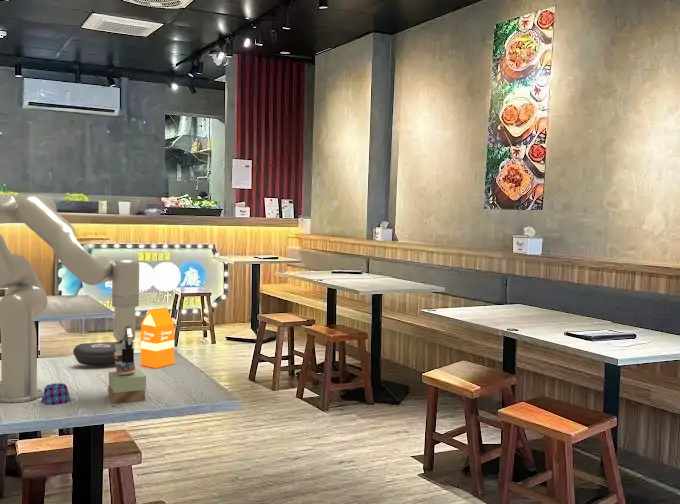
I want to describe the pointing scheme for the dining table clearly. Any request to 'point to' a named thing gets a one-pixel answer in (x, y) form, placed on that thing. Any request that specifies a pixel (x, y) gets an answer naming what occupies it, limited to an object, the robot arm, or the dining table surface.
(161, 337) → the orange juice
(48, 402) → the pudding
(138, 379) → the tower top slab
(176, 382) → the dining table surface
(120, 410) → the dining table surface
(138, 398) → the tower base slab
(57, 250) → the robot arm
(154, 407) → the dining table surface
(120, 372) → the pill bottle
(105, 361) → the glasses case
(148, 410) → the dining table surface
